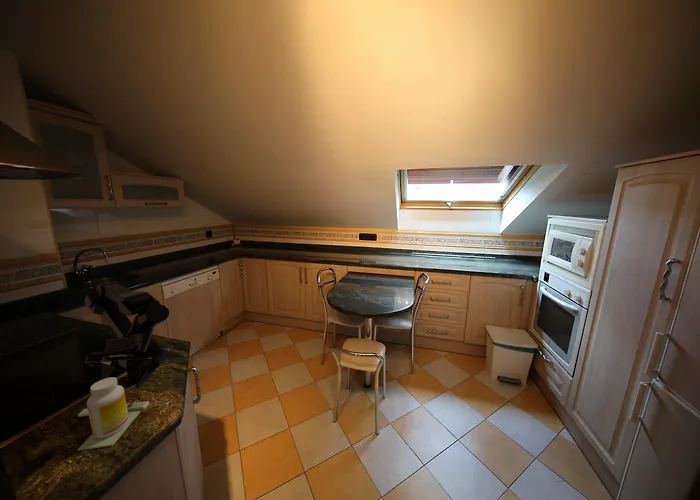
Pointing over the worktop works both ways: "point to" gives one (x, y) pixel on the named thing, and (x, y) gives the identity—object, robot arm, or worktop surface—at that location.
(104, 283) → the robot arm
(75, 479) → the worktop surface
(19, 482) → the worktop surface
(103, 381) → the supplement bottle
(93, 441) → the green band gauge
